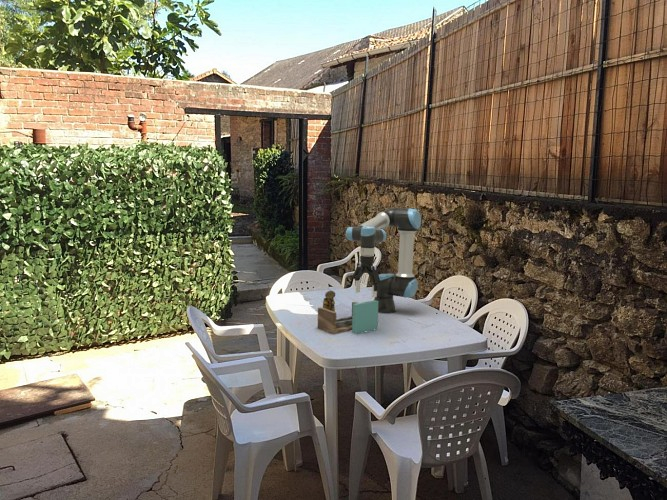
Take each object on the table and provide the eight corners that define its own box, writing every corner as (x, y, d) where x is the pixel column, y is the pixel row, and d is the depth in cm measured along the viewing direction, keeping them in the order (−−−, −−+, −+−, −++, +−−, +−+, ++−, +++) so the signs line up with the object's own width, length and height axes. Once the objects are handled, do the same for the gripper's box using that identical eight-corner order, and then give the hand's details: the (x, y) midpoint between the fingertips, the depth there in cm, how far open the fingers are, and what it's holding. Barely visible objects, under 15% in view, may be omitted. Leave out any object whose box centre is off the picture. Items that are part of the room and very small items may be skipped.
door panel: (374, 328, 296) (375, 300, 294) (377, 329, 294) (378, 301, 292) (352, 333, 287) (352, 303, 284) (354, 334, 285) (355, 304, 283)
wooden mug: (322, 321, 309) (322, 290, 307) (320, 315, 323) (320, 285, 320) (337, 320, 310) (338, 290, 308) (334, 314, 324) (335, 285, 321)
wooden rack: (354, 321, 310) (354, 301, 309) (370, 326, 299) (370, 306, 298) (317, 328, 295) (317, 307, 293) (332, 334, 284) (333, 313, 282)
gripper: (347, 253, 292) (345, 291, 295) (377, 258, 273) (376, 299, 275) (357, 252, 297) (356, 289, 300) (388, 258, 277) (386, 298, 280)
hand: (365, 294), depth 288 cm, fingers open, 13 cm apart
